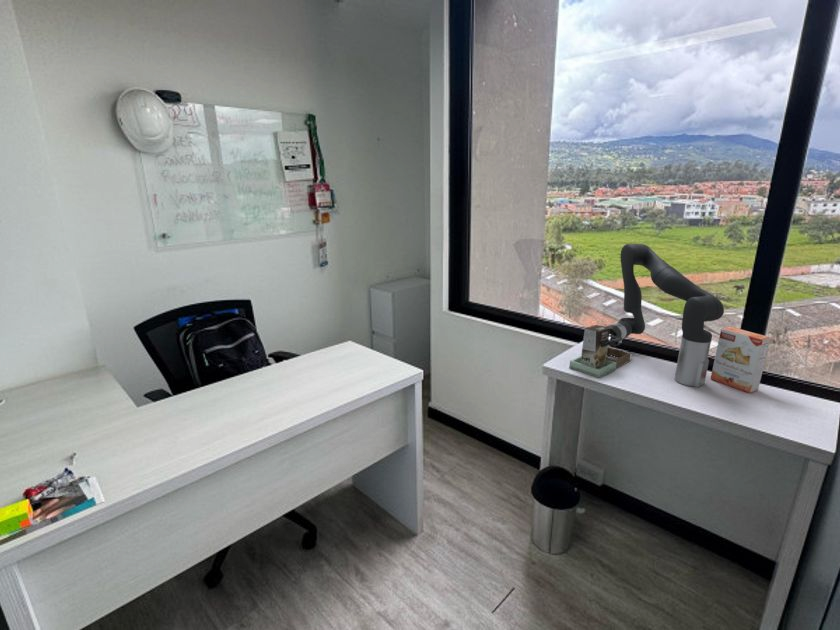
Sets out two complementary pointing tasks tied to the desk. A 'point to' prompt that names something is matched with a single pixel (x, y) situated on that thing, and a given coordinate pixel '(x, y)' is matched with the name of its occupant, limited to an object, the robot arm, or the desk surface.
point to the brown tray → (621, 355)
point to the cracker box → (740, 358)
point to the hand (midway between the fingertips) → (592, 342)
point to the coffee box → (594, 346)
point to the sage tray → (590, 370)
